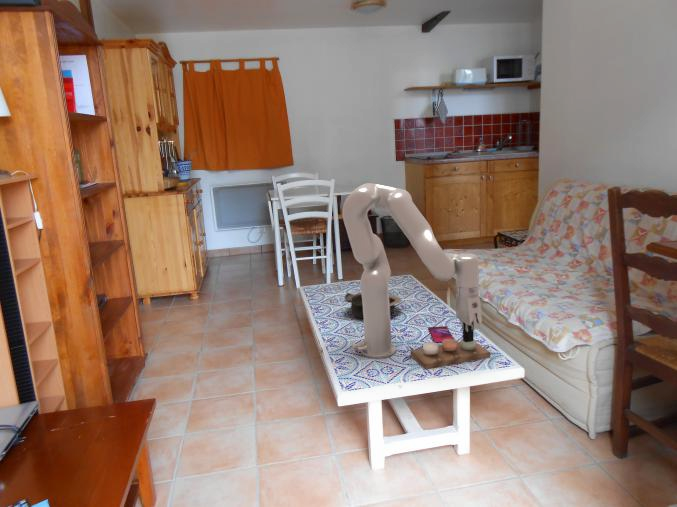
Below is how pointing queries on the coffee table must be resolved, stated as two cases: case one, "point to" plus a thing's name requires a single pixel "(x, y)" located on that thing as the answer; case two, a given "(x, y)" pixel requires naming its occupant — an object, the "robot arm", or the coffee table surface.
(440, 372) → the coffee table surface
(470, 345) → the sage button
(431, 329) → the smartphone
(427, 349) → the off-white button
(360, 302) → the stone bowl
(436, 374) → the coffee table surface
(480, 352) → the button board
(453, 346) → the terracotta button
